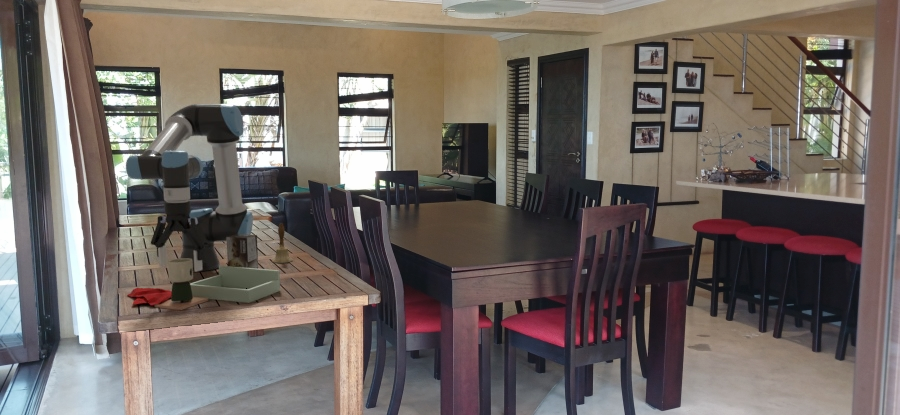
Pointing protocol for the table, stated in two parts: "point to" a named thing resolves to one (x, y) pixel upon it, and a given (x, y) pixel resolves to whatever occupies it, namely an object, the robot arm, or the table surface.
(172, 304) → the terracotta tile
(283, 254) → the hand bell
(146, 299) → the cloth
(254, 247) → the coffee box
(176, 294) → the character mug
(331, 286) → the table surface
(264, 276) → the frame
